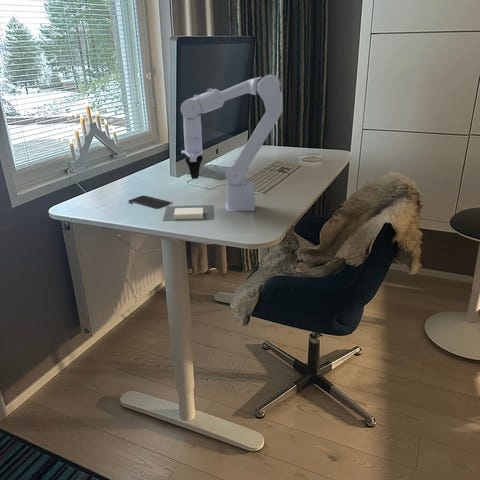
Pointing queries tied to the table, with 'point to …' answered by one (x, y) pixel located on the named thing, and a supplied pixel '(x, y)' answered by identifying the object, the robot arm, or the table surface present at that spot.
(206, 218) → the desk mat
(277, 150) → the table surface
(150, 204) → the phone
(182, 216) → the card box
